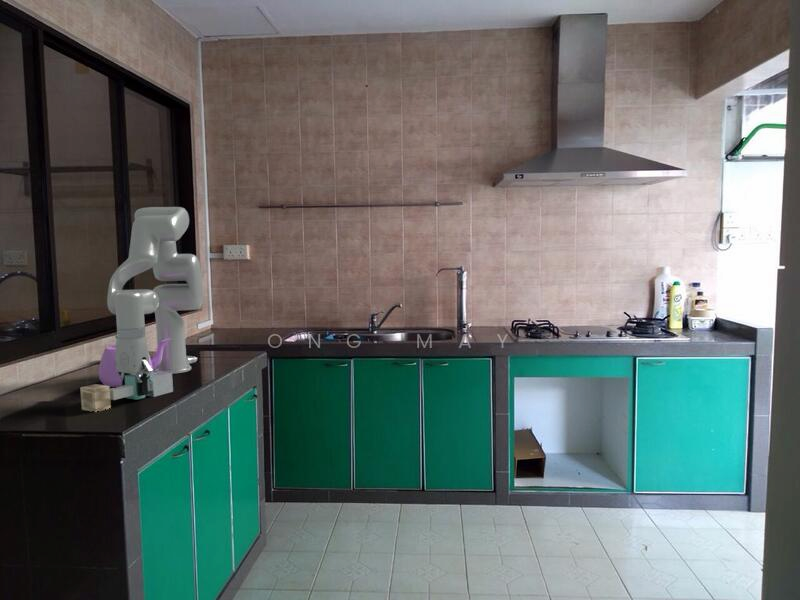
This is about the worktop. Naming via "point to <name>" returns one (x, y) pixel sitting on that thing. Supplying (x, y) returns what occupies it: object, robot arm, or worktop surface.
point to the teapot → (108, 364)
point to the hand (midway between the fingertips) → (135, 393)
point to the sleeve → (160, 383)
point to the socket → (95, 397)
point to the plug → (128, 389)
